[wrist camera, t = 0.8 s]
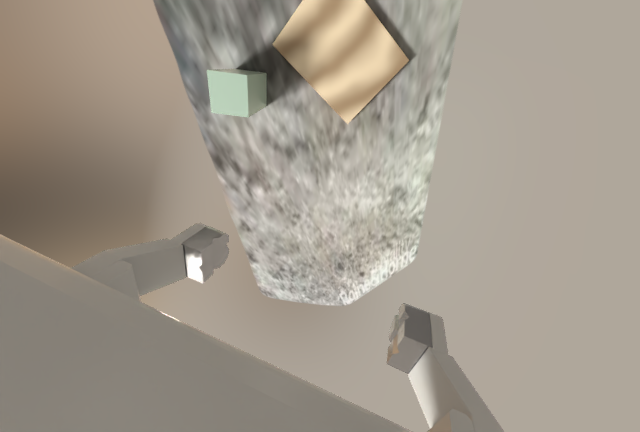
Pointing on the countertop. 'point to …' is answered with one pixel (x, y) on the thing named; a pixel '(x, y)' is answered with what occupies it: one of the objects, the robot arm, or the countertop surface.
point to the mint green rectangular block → (237, 91)
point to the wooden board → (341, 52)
